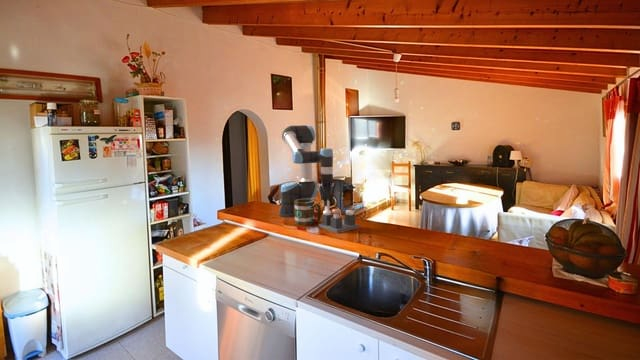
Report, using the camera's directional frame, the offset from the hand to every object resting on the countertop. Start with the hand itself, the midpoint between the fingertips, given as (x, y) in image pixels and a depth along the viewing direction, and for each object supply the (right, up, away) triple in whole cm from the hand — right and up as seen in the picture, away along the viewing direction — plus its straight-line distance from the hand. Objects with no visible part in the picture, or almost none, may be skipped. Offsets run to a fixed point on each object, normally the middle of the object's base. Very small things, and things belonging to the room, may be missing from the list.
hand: (327, 210), depth 217 cm
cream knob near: (0, -8, +1) cm, 8 cm away
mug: (-12, -10, +11) cm, 19 cm away
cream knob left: (+14, -8, +1) cm, 16 cm away
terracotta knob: (+6, -7, -6) cm, 11 cm away
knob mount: (+7, -11, +1) cm, 13 cm away
